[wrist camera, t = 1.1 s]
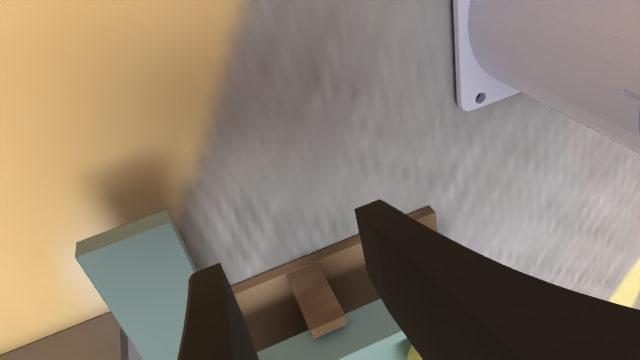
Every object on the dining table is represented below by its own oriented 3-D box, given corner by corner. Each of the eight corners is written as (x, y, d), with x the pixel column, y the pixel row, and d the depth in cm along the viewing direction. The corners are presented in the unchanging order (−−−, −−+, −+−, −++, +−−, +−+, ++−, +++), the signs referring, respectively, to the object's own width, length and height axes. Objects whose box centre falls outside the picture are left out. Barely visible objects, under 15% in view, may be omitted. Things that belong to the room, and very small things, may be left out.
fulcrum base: (429, 206, 25) (477, 256, 22) (437, 307, 30) (479, 361, 27) (150, 318, 23) (157, 395, 19) (206, 410, 27) (220, 485, 24)
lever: (455, 102, 18) (488, 124, 17) (465, 341, 27) (488, 371, 25) (76, 242, 16) (72, 283, 14) (217, 457, 24) (224, 498, 23)
